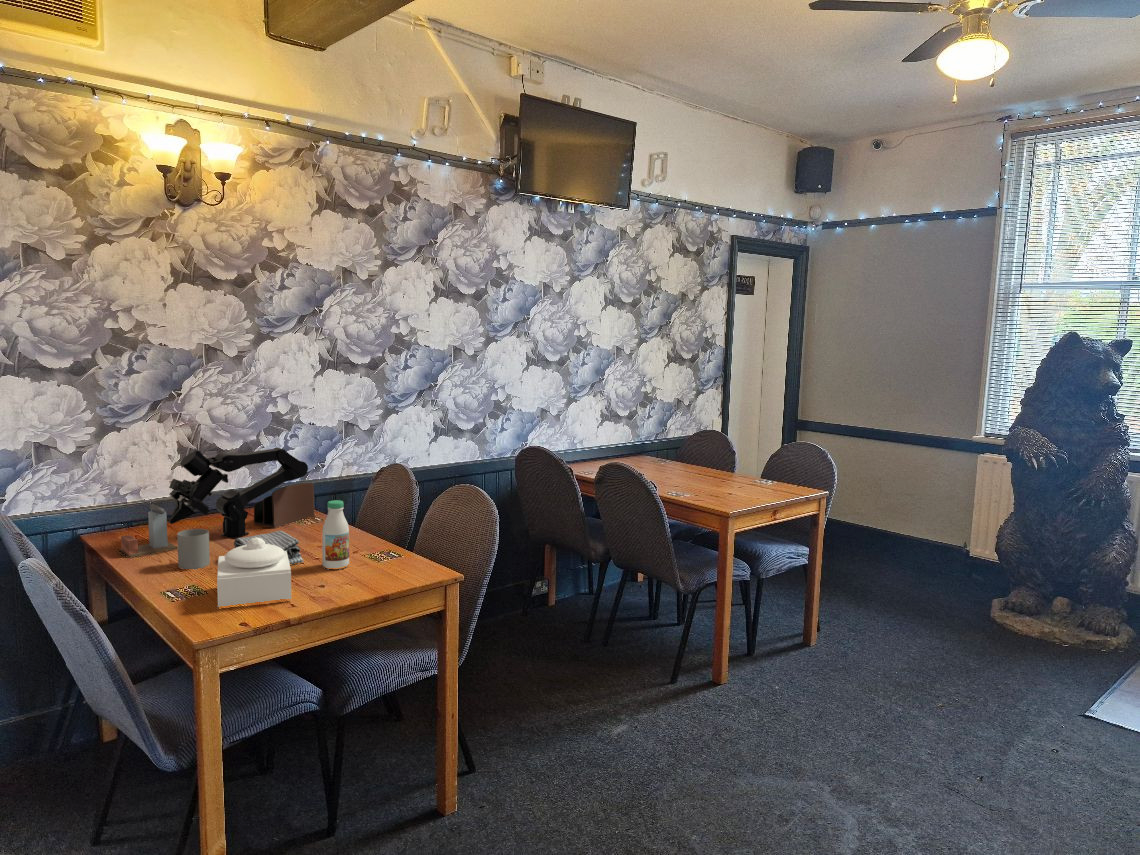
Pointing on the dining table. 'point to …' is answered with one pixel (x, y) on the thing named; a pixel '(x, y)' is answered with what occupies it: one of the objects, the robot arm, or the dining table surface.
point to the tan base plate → (140, 547)
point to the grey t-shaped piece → (157, 527)
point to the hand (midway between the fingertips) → (169, 523)
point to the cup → (193, 548)
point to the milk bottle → (335, 537)
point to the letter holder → (285, 506)
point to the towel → (277, 544)
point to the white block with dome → (253, 574)
